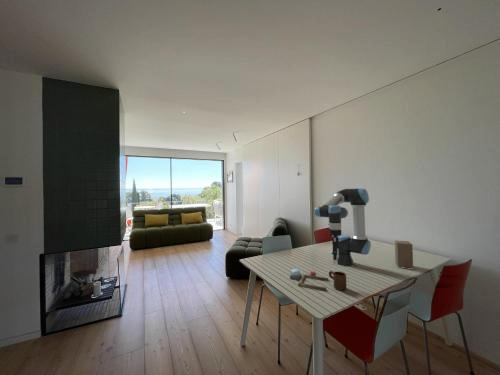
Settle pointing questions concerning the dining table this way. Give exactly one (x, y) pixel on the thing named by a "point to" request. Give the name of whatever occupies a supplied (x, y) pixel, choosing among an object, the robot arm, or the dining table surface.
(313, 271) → the die
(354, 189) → the robot arm
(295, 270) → the dome
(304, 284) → the bay
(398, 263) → the wooden block
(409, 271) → the dining table surface
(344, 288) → the mug
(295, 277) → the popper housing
